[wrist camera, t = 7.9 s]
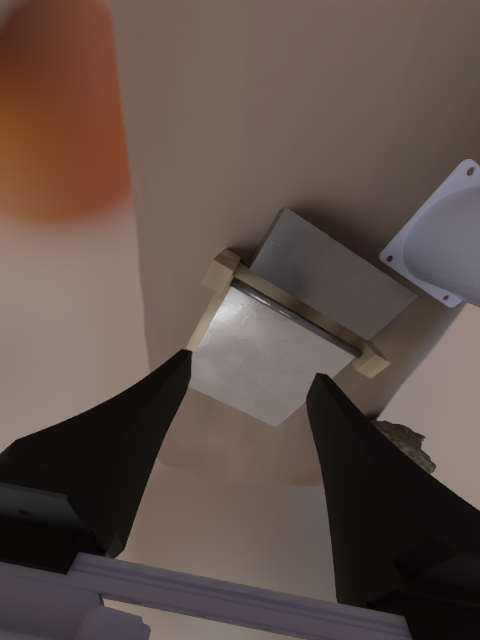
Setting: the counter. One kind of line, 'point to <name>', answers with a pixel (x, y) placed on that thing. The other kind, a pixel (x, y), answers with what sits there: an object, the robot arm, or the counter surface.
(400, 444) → the rock
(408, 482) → the robot arm
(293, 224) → the trapdoor
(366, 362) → the frame
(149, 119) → the counter surface
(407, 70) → the counter surface
